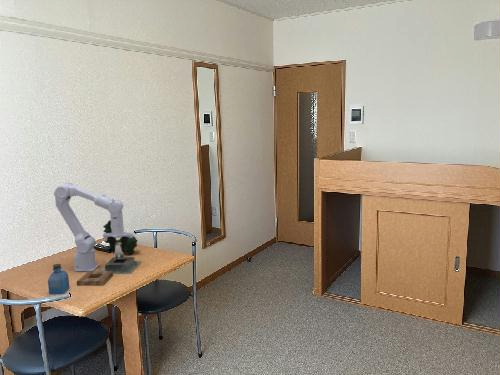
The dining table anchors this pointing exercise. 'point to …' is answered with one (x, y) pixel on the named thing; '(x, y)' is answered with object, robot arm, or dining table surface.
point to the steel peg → (118, 251)
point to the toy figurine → (130, 243)
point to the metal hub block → (121, 265)
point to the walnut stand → (102, 276)
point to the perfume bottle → (58, 281)
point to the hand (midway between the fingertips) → (119, 251)
